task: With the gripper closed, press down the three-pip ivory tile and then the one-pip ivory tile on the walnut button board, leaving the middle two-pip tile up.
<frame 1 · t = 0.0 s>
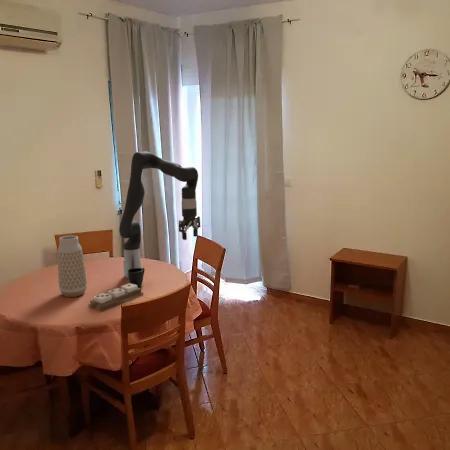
hand: (190, 238, 217), 29 cm above the table, fingers open, 8 cm apart
board: (116, 300, 213), on the table
mug: (138, 285, 234), on the table
vase: (73, 294, 223), on the table
tile three: (102, 298, 206), point 4 cm above the table, slide at 0.0 cm
tile one: (129, 288, 219), point 4 cm above the table, slide at 0.0 cm
tile two: (116, 292, 212), point 4 cm above the table, slide at 0.0 cm
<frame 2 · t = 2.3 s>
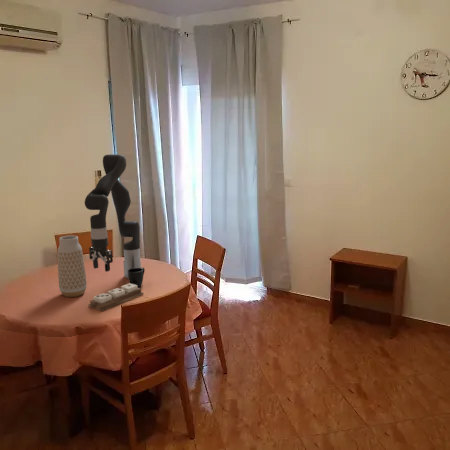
hand: (101, 269, 203), 18 cm above the table, fingers open, 8 cm apart
nothing on the table moved.
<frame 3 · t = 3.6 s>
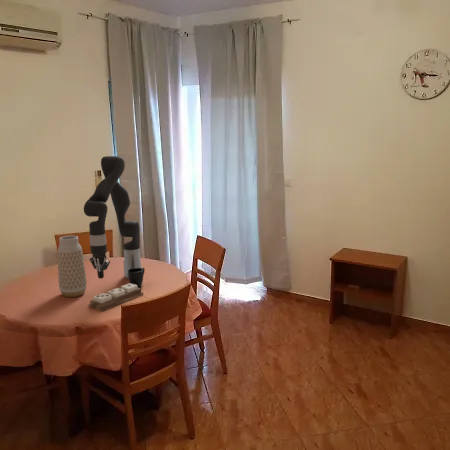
hand: (101, 278, 203), 14 cm above the table, fingers closed
nothing on the table moved.
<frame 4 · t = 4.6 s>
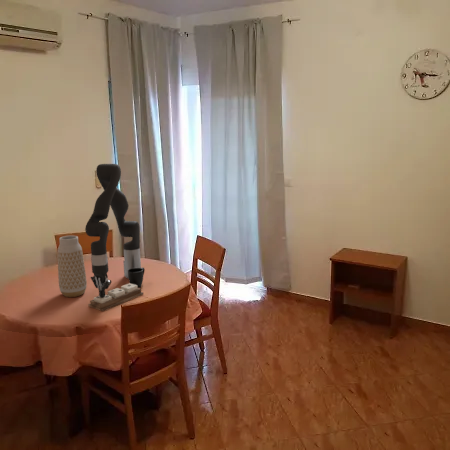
hand: (102, 296, 205), 5 cm above the table, fingers closed
tile three: (102, 299, 206), point 3 cm above the table, slide at 0.6 cm, touching gripper
everything else where it was.
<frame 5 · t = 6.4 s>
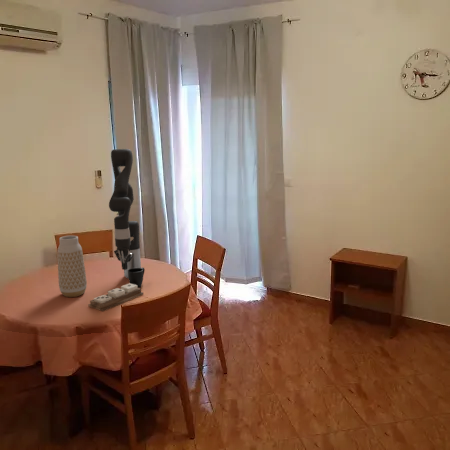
hand: (124, 269, 216), 14 cm above the table, fingers closed
tile three: (102, 299, 206), point 3 cm above the table, slide at 0.9 cm
everything else where it was.
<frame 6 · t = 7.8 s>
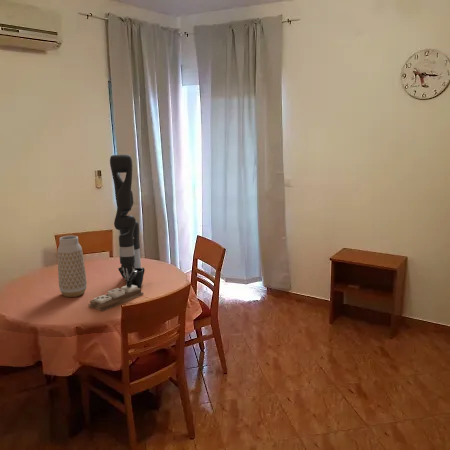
hand: (129, 286, 219), 5 cm above the table, fingers closed
tile one: (129, 288, 219), point 3 cm above the table, slide at 0.5 cm, touching gripper
everything else where it was.
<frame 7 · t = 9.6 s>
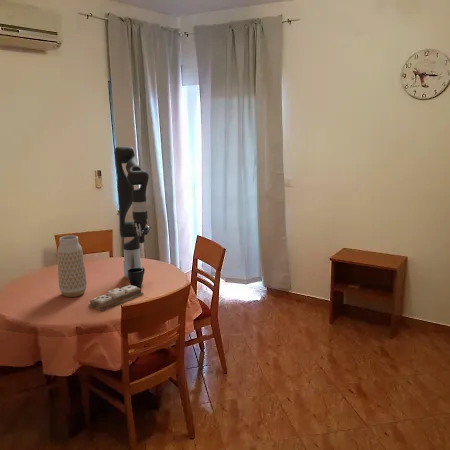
hand: (141, 242, 219), 27 cm above the table, fingers closed
tile one: (129, 289, 219), point 3 cm above the table, slide at 0.9 cm
everything else where it was.
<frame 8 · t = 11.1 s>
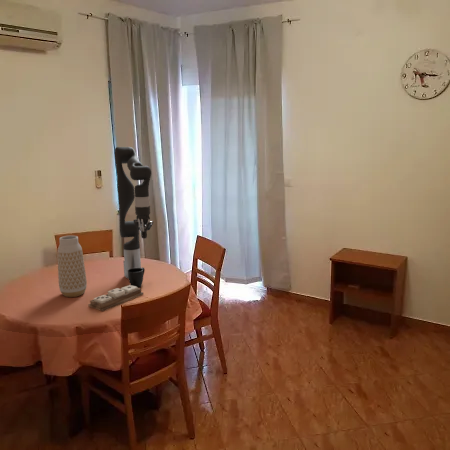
hand: (144, 238, 220), 29 cm above the table, fingers closed
nothing on the table moved.
at the end: tile three slide at 0.9 cm; tile one slide at 0.9 cm; tile two slide at 0.0 cm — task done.
